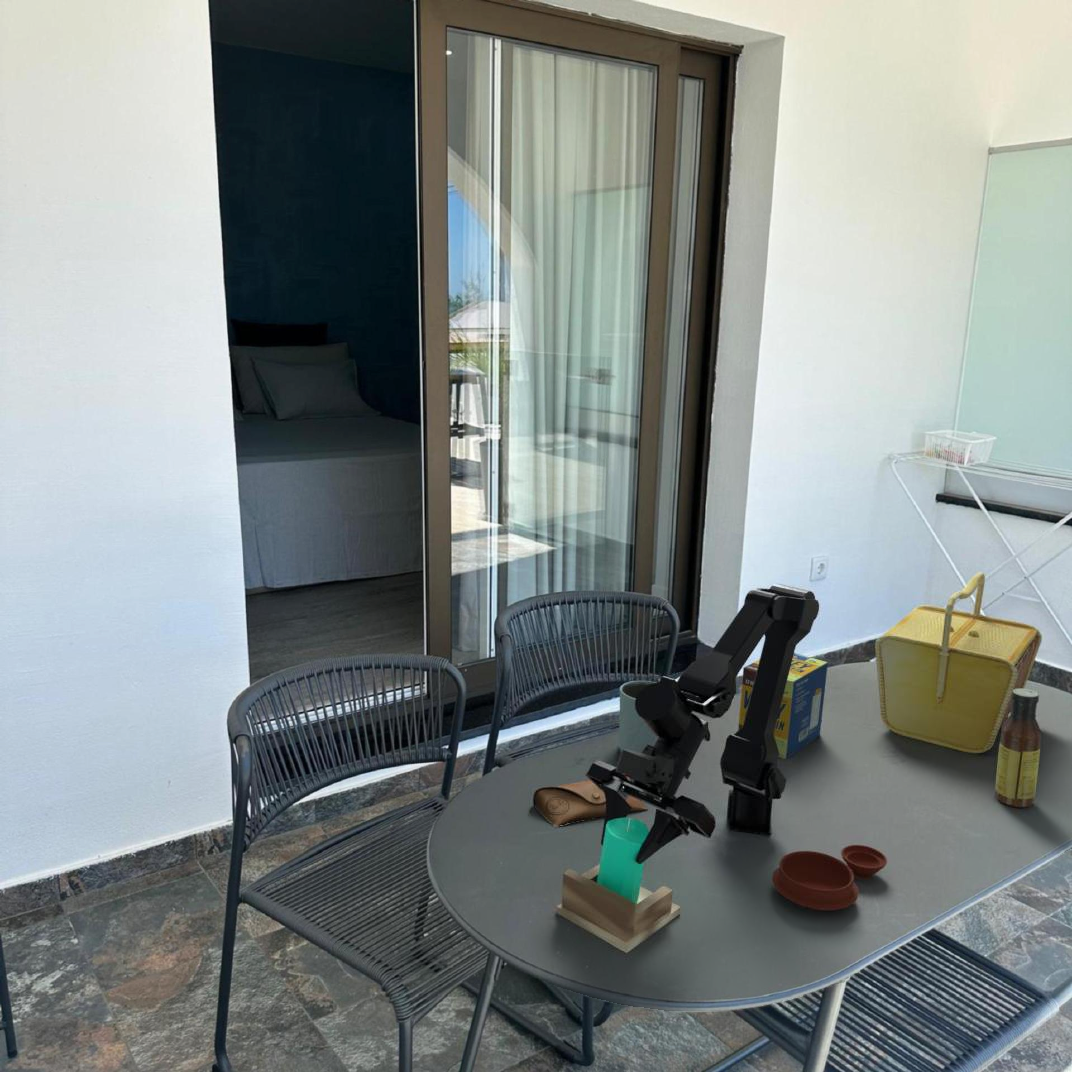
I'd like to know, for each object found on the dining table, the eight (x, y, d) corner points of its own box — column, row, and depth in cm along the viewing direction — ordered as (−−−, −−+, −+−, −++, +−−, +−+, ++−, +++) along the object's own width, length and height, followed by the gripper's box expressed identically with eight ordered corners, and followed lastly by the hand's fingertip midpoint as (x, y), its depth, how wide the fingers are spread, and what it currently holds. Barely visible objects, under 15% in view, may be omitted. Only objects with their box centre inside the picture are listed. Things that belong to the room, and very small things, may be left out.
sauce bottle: (1032, 797, 169) (1049, 689, 164) (1034, 812, 163) (1051, 702, 159) (991, 788, 171) (1007, 682, 167) (991, 803, 166) (1007, 694, 161)
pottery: (753, 890, 138) (756, 862, 138) (842, 850, 150) (845, 824, 149) (819, 933, 129) (823, 903, 128) (909, 887, 141) (913, 859, 140)
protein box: (735, 743, 186) (742, 667, 183) (773, 719, 198) (779, 647, 194) (786, 760, 180) (793, 681, 176) (821, 735, 191) (829, 660, 188)
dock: (611, 877, 140) (613, 840, 139) (680, 913, 132) (683, 873, 131) (556, 912, 131) (557, 873, 130) (626, 953, 124) (629, 911, 122)
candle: (596, 907, 130) (609, 829, 126) (593, 880, 135) (605, 804, 132) (640, 911, 130) (654, 833, 127) (635, 884, 136) (648, 808, 133)
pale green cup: (615, 737, 187) (618, 679, 184) (667, 739, 187) (671, 681, 184) (617, 761, 177) (621, 699, 174) (673, 763, 177) (677, 702, 174)
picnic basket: (904, 688, 218) (920, 559, 211) (1030, 718, 203) (1052, 580, 196) (863, 730, 194) (879, 586, 188) (1002, 767, 180) (1025, 613, 173)
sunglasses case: (553, 829, 153) (545, 786, 154) (537, 831, 159) (530, 789, 161) (652, 809, 160) (644, 768, 162) (633, 812, 166) (625, 773, 168)
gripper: (596, 706, 136) (541, 805, 130) (710, 748, 123) (654, 860, 118) (628, 741, 143) (576, 836, 138) (738, 784, 131) (686, 891, 125)
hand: (620, 854), depth 130 cm, fingers closed on candle, 5 cm apart
